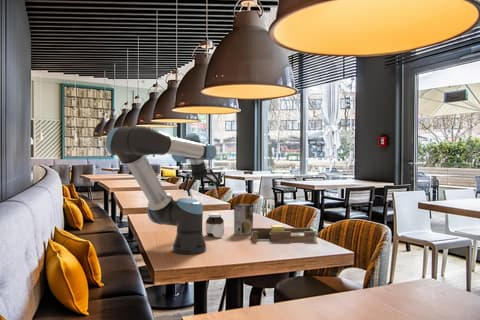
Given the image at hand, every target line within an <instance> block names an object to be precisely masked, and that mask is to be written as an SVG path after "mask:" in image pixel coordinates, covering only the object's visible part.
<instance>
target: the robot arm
mask: <svg viewBox="0 0 480 320" xmlns="http://www.w3.org/2000/svg"><path fill="white" fill-rule="evenodd" d="M105 147H106V150H107V152H108V153H109V154H110V155H112V156H116V157H117V158H118V160H119V161H120V162H121V164H123V165H126V166H127V167H128V169H129V171H130V173H131V174H132V176H133V178H134V179H135V181H136V182H137V184H138V185H139V187H140V190H141V191H142V192H143V194H144V196H145V197H146V200H147V202H148V203H147V208H146V211H147V212H146V213H147V217H148V219H149V220H150V221H151V222H152V223H153V224H158V225H164V226H174V227H176V235H175V238H174V241H173V244H172V252H174V254H175V253H176V254H181V255H193V254H194V255H195V254H196V255H197V254H202V253H205V252H206V250H207V244H206V242H205V241H206V240H205V238H204V235H203V222H204V221H203V217H204V216H203V215H204V210H203V203H202V202H201V201H200V200H197V199H196V198H195V199H194V197H193V193H192V189H191V188H192V187H193V185H194V183H195V181H196V180H203V179H204V178H205V179H206V180H208V181H209V182H211V183H212V184H213V186H214V190H215V196H216V198H218V197H219V195H218V191H219V189H220V188H219V185H220V184H221V179H220V178H219V177H218V176H217V175H216V174H215V172H214V171H213V168H212V167H209V168H208V169H207V168H206V167H207V166H206V163H205V161H213V160H214V159H216V158H217V147H216V145H214V144H213V143H211V144H210V143H208V144H206V143H201V139H200V135H199V134H198V133H197V132H192V133H188V134H186V135H184V138H180V137H174V136H173V135H172V136H171V135H169V133H167V132H164V131H162V130H156V129H154V128H150V127H146V126H127V127H126V126H120V127H114V128H111V130H110V131H109V132H108V133H107V135H106V139H105ZM166 154H168V155H171V158H172V159H173V160H174V162H177V163H181V162H183V161H185V160H189V165H190V168H191V172H188V171H187V172H186V178H185V182H184V185H183V188H182V189H183V191H186V192H187V196H188V197H190V198H188V197H182V198H178V199H177V200H175V199H174V198H173V196H172V195H171V193H169V192H167V191H166V190H165V189H164V187H163V185H162V183H161V182H160V179H159V178H158V176H157V174H156V173H155V171H154V168H153V167H152V165H151V164H150V162H149V160H148V158H147V157H146V156H152V155H155V156H156V155H160V156H163V155H164V156H165V155H166ZM207 173H209V174H210V175H211V176H213V178H212V177H211V176H209V174H207ZM191 176H192V179H191V180H190V177H191ZM189 180H190V183H189ZM188 183H189V184H188Z"/></svg>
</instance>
